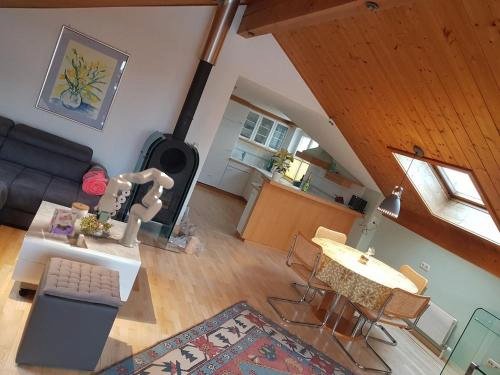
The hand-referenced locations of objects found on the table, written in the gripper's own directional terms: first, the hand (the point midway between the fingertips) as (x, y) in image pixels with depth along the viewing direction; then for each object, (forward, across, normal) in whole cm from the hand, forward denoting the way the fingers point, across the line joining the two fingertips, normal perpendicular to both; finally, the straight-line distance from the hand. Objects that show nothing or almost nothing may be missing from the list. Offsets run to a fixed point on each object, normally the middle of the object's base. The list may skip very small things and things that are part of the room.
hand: (101, 219), depth 263 cm
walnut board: (+19, +10, -1) cm, 22 cm away
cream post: (+18, +10, +4) cm, 22 cm away
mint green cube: (+1, 0, 0) cm, 1 cm away
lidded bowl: (+20, +1, -52) cm, 55 cm away
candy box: (+19, +20, -13) cm, 30 cm away
